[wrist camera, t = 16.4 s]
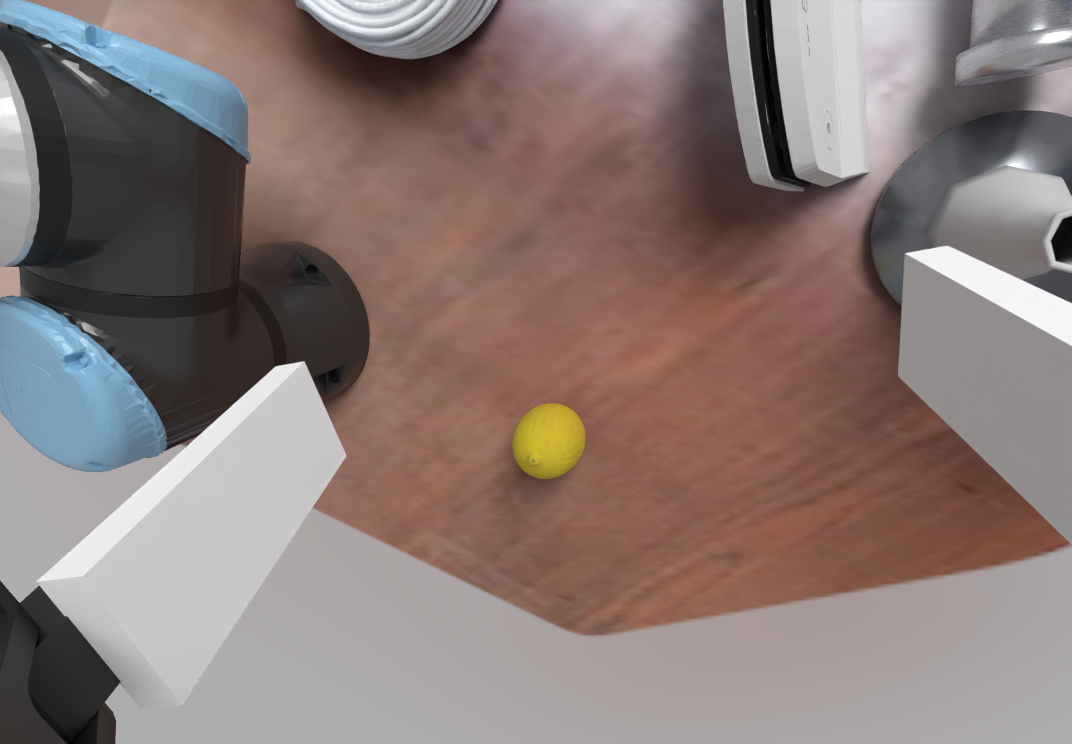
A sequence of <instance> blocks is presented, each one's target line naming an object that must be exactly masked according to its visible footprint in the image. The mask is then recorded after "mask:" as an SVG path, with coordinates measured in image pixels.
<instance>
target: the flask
mask: <svg viewBox="0 0 1072 744" xmlns="http://www.w3.org/2000/svg"><path fill="white" fill-rule="evenodd" d="M927 235H928V238H929V242H930V245H931V249H932V248H937V247H943V246H950V247H952V248H954V249H956V250H958V251H960V252H962V253H965V254H967V255H969V256H971V257H973V258H975V259H977V260H980V261H982V262H984V263H986V264H988V265H990V266H993V267H995V268H997V269H999V270H1001V271H1003V272H1005V273H1008V274H1010V275H1012V276H1014V277H1016V278H1018V279H1020V280H1023V279H1027V278H1030V277H1034V276H1037V275H1040V274H1044V273H1047V272H1049V271H1050V270H1052V269H1056V270H1060V271H1064V272H1068V273H1072V196H1071V194H1070V192H1069V190H1068V188H1067V186H1066V184H1065V182H1064V180H1063V179H1062V177H1058V176H1054V175H1049V174H1045V173H1040V172H1035V171H1031V170H1026V169H1021V168H1017V167H1012V166H1008V165H1005V166H1003V167H1000V168H997V169H994V170H991V171H989V172H986V173H983V174H980V175H977V176H975V177H972V178H969V179H966V180H963V181H961V182H958V183H955V184H952V185H950V186H949V187H948V189H947V192H946V194H945V196H944V198H943V200H942V202H941V204H940V206H939V208H938V210H937V213H936V215H935V217H934V219H933V221H932V223H931V225H930V227H929V229H928V232H927Z"/></svg>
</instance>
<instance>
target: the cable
mask: <svg viewBox="0 0 1072 744" xmlns="http://www.w3.org/2000/svg"><path fill="white" fill-rule="evenodd" d="M497 1H498V0H297V1H296V6H297V7H298V8H299V9H303V10H305V11H307V12H308V13H310V14H311V15H312V16H313V17H314V18H315V19H316V20H317V21H318V22H319V23H320V24H322V25H323V26H324V27H325V28H327V29H328V30H330V31H331V32H332V33H334V34H336V35H337V36H339V37H340V38H342V39H344V40H346V41H347V42H349V43H351V44H352V45H354V46H356V47H358V48H360V49H362V50H364V51H367V52H369V53H372V54H376V55H380V56H385V57H393V58H400V59H417V58H424V57H428V56H432V55H436V54H439V53H441V52H443V51H445V50H447V49H449V48H451V47H453V46H455V45H456V44H458V43H460V42H461V41H463V40H464V39H466V38H467V37H468V36H469V35H470V34H472V33H473V32H474V31H475V30H476V29H477V28H478V27H479V26H480V25H481V23H482V22H483V21H484V20H485V19H486V17H487V16H488V15H489V13H490V12H491V10H492V9H493V7H494V5H495V4H496V2H497Z"/></svg>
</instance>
